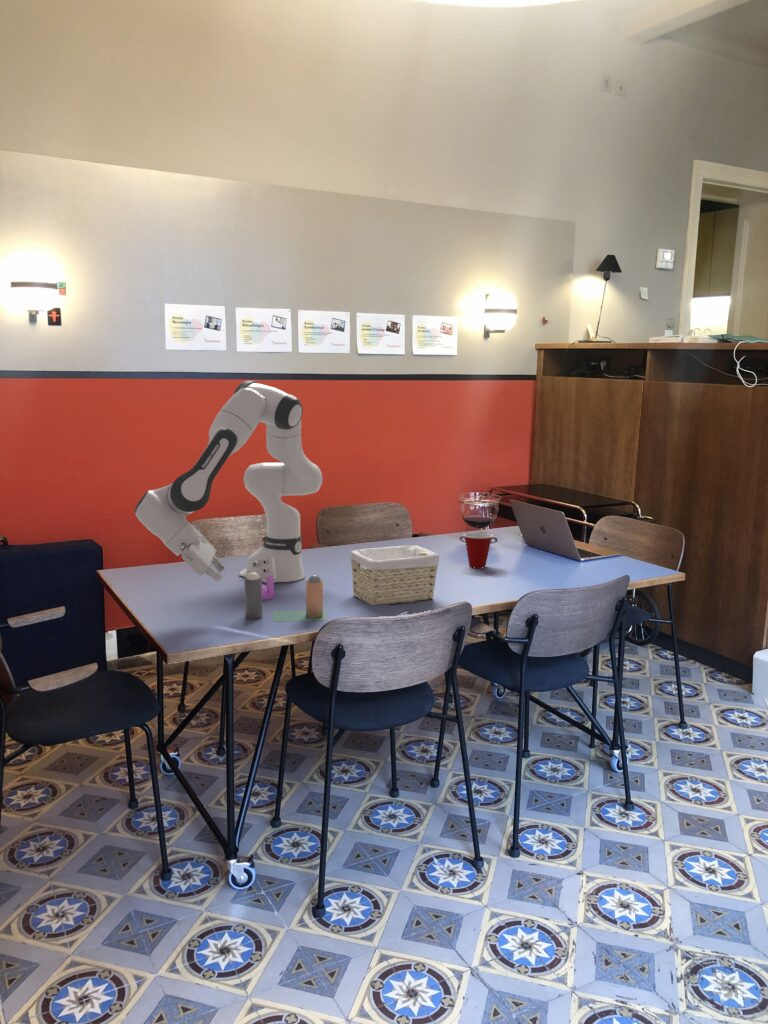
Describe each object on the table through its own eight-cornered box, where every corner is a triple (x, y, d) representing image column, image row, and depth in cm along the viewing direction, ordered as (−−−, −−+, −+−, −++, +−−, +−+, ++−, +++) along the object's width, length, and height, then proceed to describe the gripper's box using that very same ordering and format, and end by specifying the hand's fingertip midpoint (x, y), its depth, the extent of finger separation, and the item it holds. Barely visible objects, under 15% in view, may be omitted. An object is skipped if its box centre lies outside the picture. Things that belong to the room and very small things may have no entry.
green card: (273, 624, 217) (273, 621, 217) (273, 614, 226) (273, 611, 226) (327, 623, 219) (327, 620, 219) (325, 613, 228) (325, 610, 227)
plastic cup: (489, 562, 290) (490, 531, 288) (494, 570, 279) (495, 537, 277) (460, 562, 289) (461, 530, 287) (464, 570, 279) (465, 537, 277)
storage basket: (415, 587, 257) (416, 543, 254) (440, 600, 242) (441, 553, 240) (348, 595, 246) (348, 549, 243) (370, 609, 232) (370, 561, 229)
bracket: (274, 598, 241) (273, 576, 240) (256, 600, 239) (255, 578, 238) (264, 587, 253) (264, 566, 252) (247, 589, 251) (247, 568, 250)
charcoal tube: (241, 620, 220) (240, 572, 217) (252, 616, 224) (251, 569, 221) (255, 623, 217) (254, 575, 215) (265, 618, 222) (265, 571, 219)
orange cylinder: (302, 616, 222) (302, 575, 220) (311, 612, 226) (312, 572, 224) (317, 619, 219) (317, 578, 217) (326, 614, 224) (326, 574, 222)
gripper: (187, 540, 204) (226, 576, 207) (196, 524, 224) (232, 557, 227) (170, 557, 204) (209, 592, 207) (181, 540, 224) (216, 573, 227)
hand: (221, 574), depth 217 cm, fingers open, 8 cm apart
